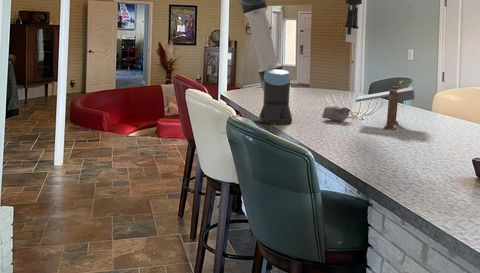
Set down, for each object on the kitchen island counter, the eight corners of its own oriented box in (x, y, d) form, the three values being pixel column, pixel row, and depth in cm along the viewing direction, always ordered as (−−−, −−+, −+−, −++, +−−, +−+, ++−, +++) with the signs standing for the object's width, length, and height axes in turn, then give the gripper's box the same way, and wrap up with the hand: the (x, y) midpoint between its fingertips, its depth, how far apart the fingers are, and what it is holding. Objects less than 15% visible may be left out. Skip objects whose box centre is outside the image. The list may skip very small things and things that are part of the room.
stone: (321, 106, 219) (320, 120, 221) (345, 108, 213) (344, 123, 214) (328, 104, 226) (327, 118, 227) (351, 106, 219) (351, 121, 221)
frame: (383, 129, 201) (386, 90, 198) (387, 121, 222) (390, 86, 218) (395, 130, 200) (399, 90, 196) (398, 122, 220) (401, 86, 216)
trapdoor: (356, 108, 207) (355, 99, 206) (361, 104, 221) (359, 96, 221) (414, 99, 198) (412, 89, 197) (414, 95, 212) (413, 86, 212)
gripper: (358, -8, 204) (355, 42, 208) (365, -2, 227) (362, 42, 231) (341, -8, 207) (338, 41, 211) (349, -2, 230) (346, 42, 234)
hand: (350, 42), depth 221 cm, fingers open, 13 cm apart
